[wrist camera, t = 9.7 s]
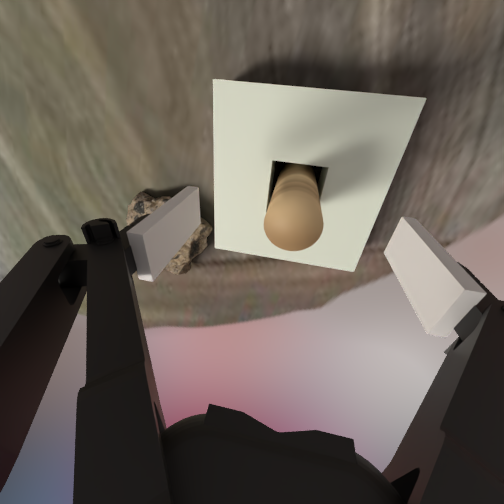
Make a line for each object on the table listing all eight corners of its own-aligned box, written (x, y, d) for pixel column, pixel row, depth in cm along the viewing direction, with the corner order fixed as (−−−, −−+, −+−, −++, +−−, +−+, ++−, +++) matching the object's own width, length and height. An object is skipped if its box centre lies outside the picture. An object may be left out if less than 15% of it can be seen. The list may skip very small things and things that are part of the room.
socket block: (228, 83, 22) (213, 79, 18) (403, 99, 20) (426, 98, 16) (225, 230, 31) (214, 248, 27) (347, 250, 29) (353, 271, 25)
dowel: (281, 157, 24) (267, 193, 15) (319, 162, 24) (330, 202, 14) (276, 194, 27) (260, 246, 17) (310, 198, 26) (315, 255, 16)
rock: (148, 169, 28) (126, 178, 25) (222, 221, 30) (212, 237, 27) (126, 227, 34) (105, 242, 30) (190, 268, 36) (177, 286, 32)
